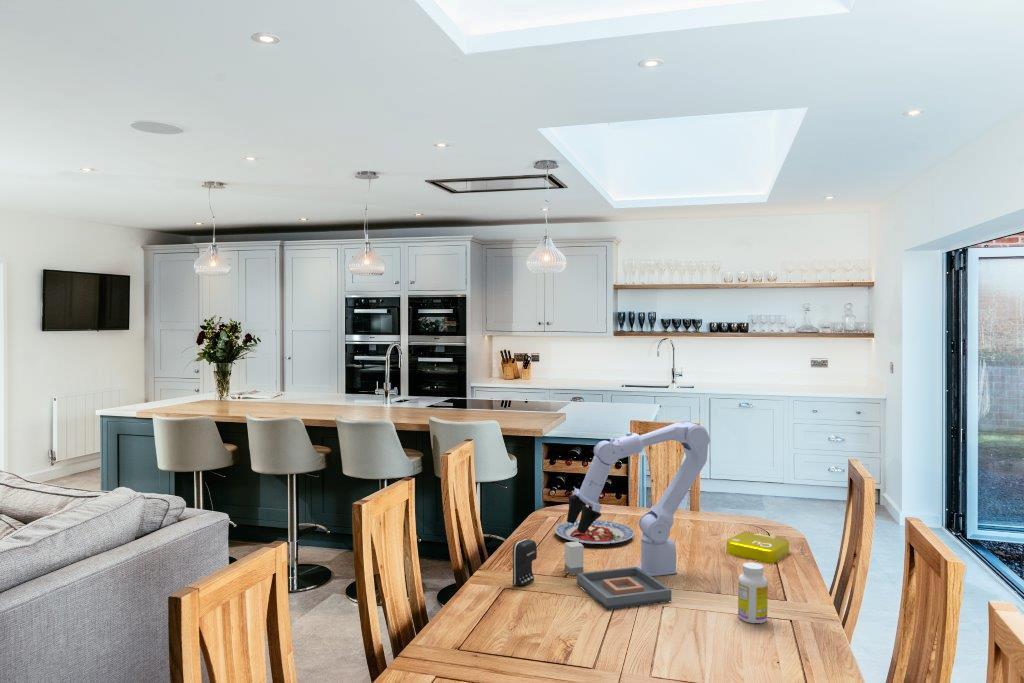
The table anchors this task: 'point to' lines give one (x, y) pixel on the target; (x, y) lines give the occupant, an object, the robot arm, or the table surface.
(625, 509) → the table surface
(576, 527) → the ceramic plate
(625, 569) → the walled box
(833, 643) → the table surface
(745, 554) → the element tile
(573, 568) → the grey square prism
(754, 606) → the supplement bottle
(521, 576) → the battery charger
